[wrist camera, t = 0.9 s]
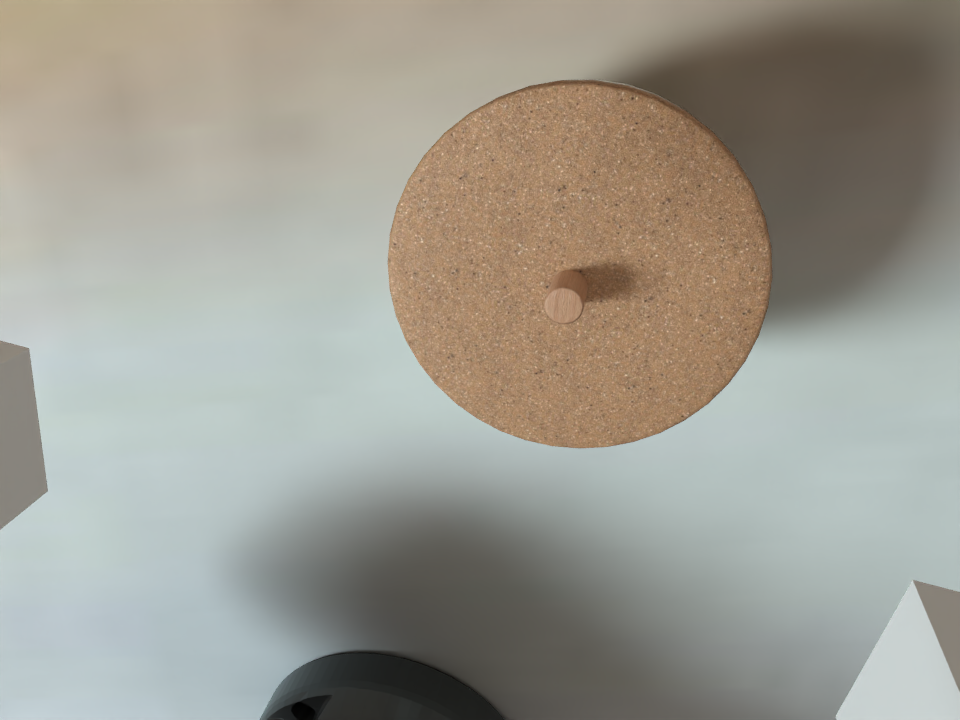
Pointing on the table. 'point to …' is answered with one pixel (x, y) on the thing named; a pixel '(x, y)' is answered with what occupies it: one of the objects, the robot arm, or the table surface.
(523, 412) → the lidded jar
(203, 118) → the table surface
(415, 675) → the robot arm
